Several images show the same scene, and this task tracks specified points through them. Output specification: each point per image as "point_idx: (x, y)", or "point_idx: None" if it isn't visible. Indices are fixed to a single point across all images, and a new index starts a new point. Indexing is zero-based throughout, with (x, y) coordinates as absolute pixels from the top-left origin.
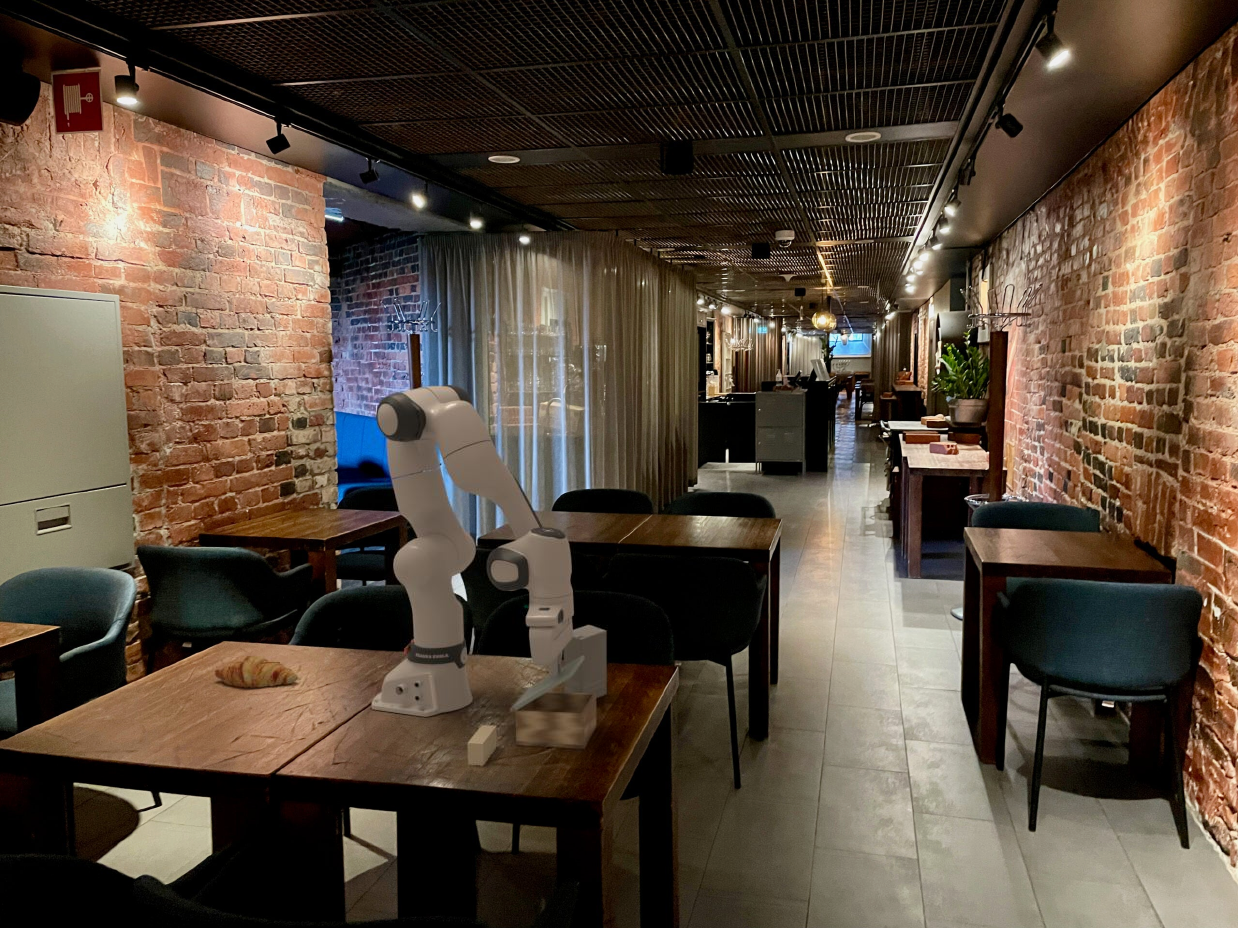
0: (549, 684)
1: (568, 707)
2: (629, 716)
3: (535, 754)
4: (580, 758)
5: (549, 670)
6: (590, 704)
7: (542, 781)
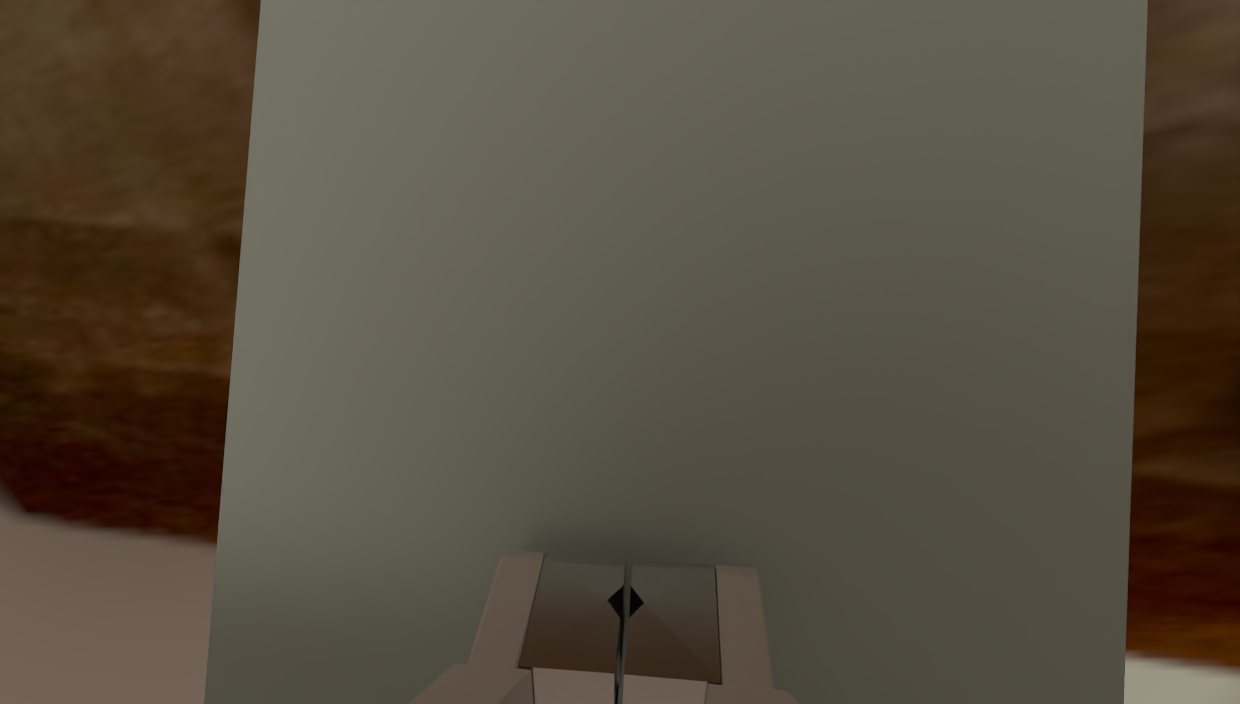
0: (301, 525)
1: None
2: None
3: None
4: None
5: (483, 620)
6: None
7: (18, 274)
